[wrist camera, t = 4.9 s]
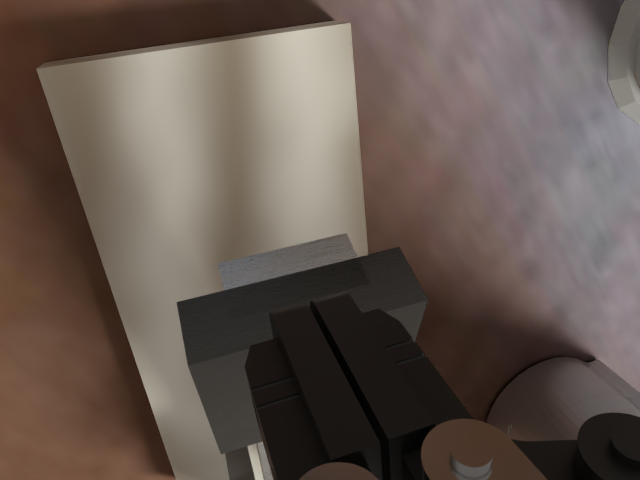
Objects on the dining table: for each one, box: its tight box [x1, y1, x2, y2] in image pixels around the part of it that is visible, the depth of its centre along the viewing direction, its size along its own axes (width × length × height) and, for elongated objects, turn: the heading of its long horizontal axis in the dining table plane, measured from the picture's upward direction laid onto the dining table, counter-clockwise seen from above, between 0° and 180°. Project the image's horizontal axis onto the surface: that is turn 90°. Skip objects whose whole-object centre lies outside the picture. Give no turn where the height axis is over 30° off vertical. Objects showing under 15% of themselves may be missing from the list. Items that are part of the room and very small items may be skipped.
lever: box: [177, 233, 428, 480], centre depth 19 cm, size 5×21×2 cm, turn 6°
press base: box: [36, 20, 368, 480], centre depth 24 cm, size 12×24×7 cm, turn 6°
